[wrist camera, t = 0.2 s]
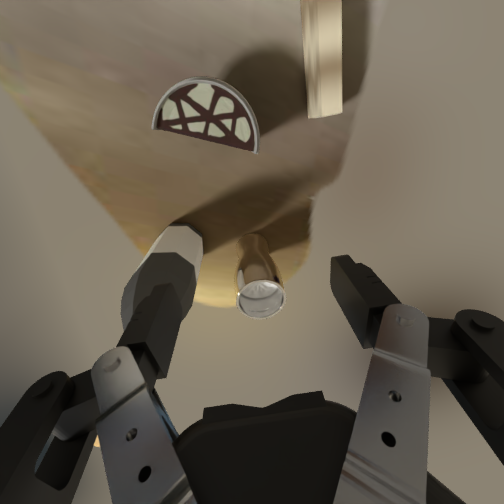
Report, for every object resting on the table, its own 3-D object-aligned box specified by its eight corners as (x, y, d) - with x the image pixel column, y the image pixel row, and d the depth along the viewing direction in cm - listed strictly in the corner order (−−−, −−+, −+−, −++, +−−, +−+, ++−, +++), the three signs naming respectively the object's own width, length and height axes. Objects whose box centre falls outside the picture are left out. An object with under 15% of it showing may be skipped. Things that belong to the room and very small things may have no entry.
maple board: (291, -129, 24) (309, -202, 18) (316, -135, 23) (340, -210, 18) (308, 118, 34) (322, 117, 29) (325, 114, 34) (342, 112, 29)
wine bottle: (197, 267, 45) (149, 471, 18) (154, 253, 42) (29, 462, 16) (211, 230, 41) (176, 415, 15) (165, 214, 39) (30, 395, 13)
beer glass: (240, 225, 41) (245, 272, 28) (276, 237, 43) (296, 286, 30) (228, 258, 44) (227, 314, 31) (262, 267, 46) (275, 325, 33)
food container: (263, 101, 33) (274, 91, 24) (253, 147, 35) (260, 155, 27) (172, 75, 31) (148, 55, 22) (169, 127, 33) (147, 128, 25)
